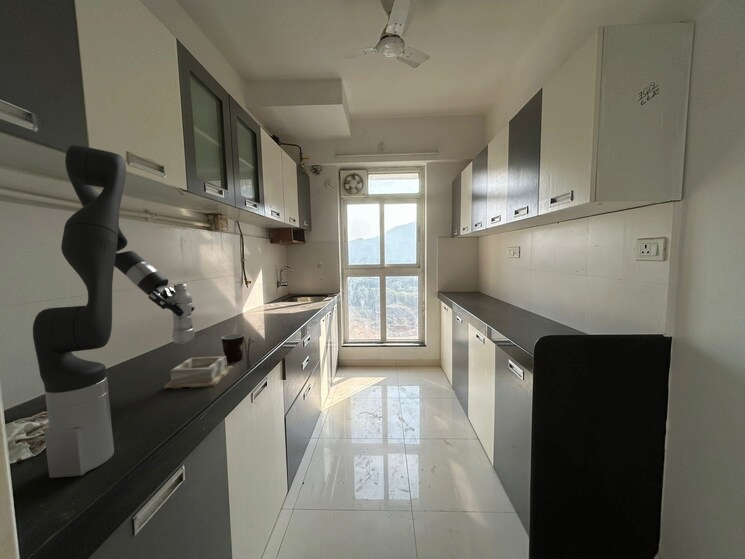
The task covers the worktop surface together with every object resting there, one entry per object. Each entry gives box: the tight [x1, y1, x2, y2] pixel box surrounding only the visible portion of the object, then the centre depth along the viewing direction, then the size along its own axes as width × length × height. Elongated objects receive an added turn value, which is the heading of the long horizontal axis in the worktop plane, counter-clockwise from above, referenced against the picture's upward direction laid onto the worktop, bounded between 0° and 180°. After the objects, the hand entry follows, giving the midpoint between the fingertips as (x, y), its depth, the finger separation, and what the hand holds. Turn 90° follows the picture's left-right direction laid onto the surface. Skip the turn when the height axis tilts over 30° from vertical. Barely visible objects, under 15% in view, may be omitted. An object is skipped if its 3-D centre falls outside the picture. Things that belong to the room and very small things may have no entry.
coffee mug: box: [220, 333, 245, 363], centre depth 125 cm, size 12×9×10 cm
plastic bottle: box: [172, 283, 196, 344], centre depth 102 cm, size 6×7×20 cm
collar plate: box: [163, 355, 234, 390], centre depth 108 cm, size 16×16×6 cm
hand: (187, 312), depth 102 cm, fingers closed on plastic bottle, 6 cm apart
